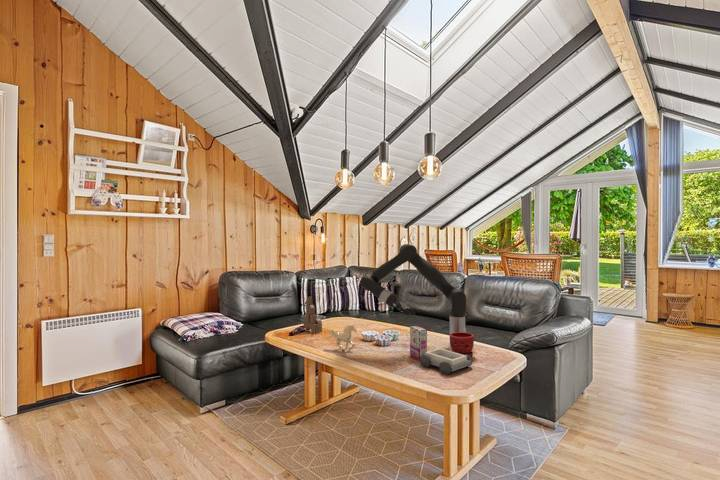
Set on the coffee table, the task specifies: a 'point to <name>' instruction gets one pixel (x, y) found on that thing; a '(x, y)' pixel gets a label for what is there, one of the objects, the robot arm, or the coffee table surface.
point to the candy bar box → (418, 342)
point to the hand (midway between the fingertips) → (411, 314)
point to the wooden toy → (311, 318)
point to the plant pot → (462, 343)
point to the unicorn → (344, 336)
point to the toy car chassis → (445, 360)
